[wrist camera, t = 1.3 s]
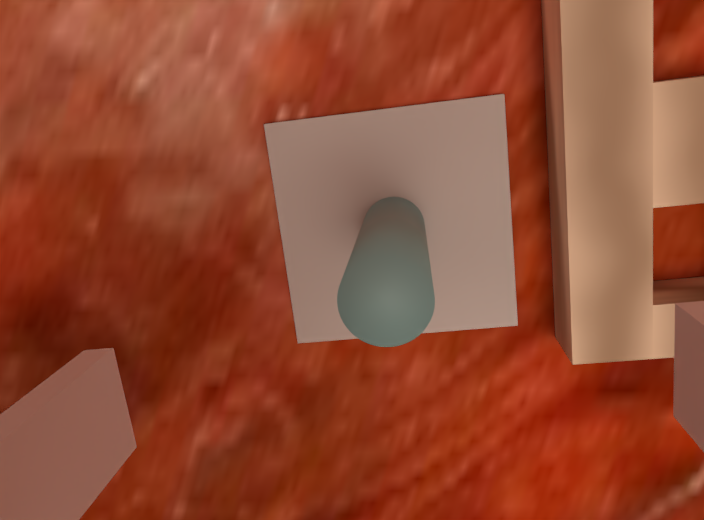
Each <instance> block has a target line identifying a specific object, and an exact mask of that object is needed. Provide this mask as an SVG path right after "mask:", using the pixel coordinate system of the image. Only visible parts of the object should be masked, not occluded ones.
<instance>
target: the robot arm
mask: <svg viewBox="0 0 704 520" xmlns="http://www.w3.org/2000/svg"><path fill="white" fill-rule="evenodd" d="M674 417H675V418H676V419H677V421H678V422H679V423H680V424H681V425H682V427H683V428H684V429H685V430H686V431H687V433H688V434H689V435H690V436H691V437H692V439H693V440H694V441H695V442H696V443H697V445H698V446H699V447H700V448H701V449H702V451H703V452H704V301H696V302H683V303H675V340H674ZM136 447H137V446H136V441H135V437H134V433H133V429H132V424H131V420H130V416H129V412H128V408H127V403H126V399H125V395H124V391H123V386H122V382H121V378H120V374H119V369H118V365H117V361H116V357H115V352H114V348H105V349H93V350H84V351H83V352H81V353H80V354H79V355H77V356H76V357H75V358H74V359H72V360H71V361H70V362H68V363H67V364H66V365H64V366H63V367H62V368H60V369H59V370H58V371H57V372H55V373H54V374H53V375H51V376H50V377H49V378H47V379H46V380H45V381H43V382H42V383H41V384H40V385H38V386H37V387H36V388H34V389H33V390H32V391H30V392H29V393H28V394H26V395H25V396H24V397H22V398H21V399H20V400H19V401H17V402H16V403H15V404H13V405H12V406H11V407H9V408H8V409H7V410H5V411H4V412H3V413H2V414H0V520H79V519H80V518H81V517H82V516H83V514H84V513H85V512H86V510H87V509H88V508H89V507H90V505H91V504H92V503H93V502H94V500H95V499H96V498H97V497H98V495H99V494H100V493H101V492H102V490H103V489H104V488H105V486H106V485H107V484H108V483H109V481H110V480H111V479H112V478H113V476H114V475H115V474H116V473H117V471H118V470H119V469H120V468H121V466H122V465H123V464H124V462H125V461H126V460H127V459H128V457H129V456H130V455H131V454H132V452H133V451H134V450H135V449H136Z"/></svg>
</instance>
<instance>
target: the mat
mask: <svg viewBox="0 0 704 520" xmlns="http://www.w3.org/2000/svg"><path fill="white" fill-rule="evenodd" d="M264 129H265V135H266V142H267V148H268V155H269V161H270V167H271V174H272V180H273V187H274V193H275V200H276V206H277V212H278V219H279V225H280V232H281V238H282V245H283V251H284V257H285V264H286V270H287V277H288V283H289V290H290V296H291V303H292V309H293V315H294V322H295V328H296V335H297V341H298V343H308V342H321V341H333V340H346V339H358V338H357V337H356V336H354V335H353V334H352V333H351V332H350V331H349V330H348V329H347V327H346V326H345V324H344V323H343V321H342V319H341V317H340V314H339V311H338V306H337V293H338V288H339V285H340V283H341V280H342V277H343V275H344V272H345V269H346V266H347V264H348V261H349V258H350V256H351V253H352V250H353V248H354V245H355V242H356V240H357V237H358V234H359V232H360V229H361V226H362V224H363V221H364V218H365V216H366V214H367V212H368V210H369V209H370V208H371V206H372V205H373V204H375V203H376V202H378V201H379V200H381V199H384V198H387V197H401V198H404V199H407V200H409V201H411V202H412V203H413V204H415V205H416V206H417V207H418V209H419V210H420V212H421V213H422V216H423V218H424V223H425V230H426V237H427V244H428V252H429V259H430V266H431V273H432V280H433V288H434V295H435V307H434V312H433V316H432V318H431V321H430V322H429V324H428V326H427V327H426V328H425V330H424V331H423V332H422V333H432V332H444V331H457V330H469V329H481V328H494V327H506V326H518V320H517V303H516V286H515V268H514V251H513V234H512V217H511V200H510V182H509V165H508V148H507V131H506V114H505V96H504V94H498V95H490V96H483V97H475V98H467V99H459V100H451V101H443V102H435V103H427V104H419V105H411V106H403V107H395V108H387V109H379V110H372V111H364V112H356V113H348V114H340V115H332V116H324V117H316V118H308V119H300V120H292V121H284V122H276V123H269V124H264Z"/></svg>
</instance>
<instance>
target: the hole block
mask: <svg viewBox="0 0 704 520" xmlns="http://www.w3.org/2000/svg"><path fill="white" fill-rule="evenodd" d="M541 7H542V31H543V55H544V79H545V103H546V126H547V150H548V174H549V198H550V222H551V246H552V270H553V293H554V317H555V337H556V339H557V341H558V342H559V344H560V345H561V347H562V349H563V350H564V352H565V353H566V355H567V357H568V358H569V360H570V361H571V363H572V364H573V365H574V364H588V363H602V362H616V361H630V360H643V359H657V358H671V357H674V340H675V303H683V302H696V301H704V277H692V278H681V279H669V280H658V281H653V208H658V207H668V206H678V205H688V204H698V203H704V75H701V76H693V77H685V78H677V79H669V80H661V81H653V0H541Z"/></svg>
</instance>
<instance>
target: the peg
mask: <svg viewBox="0 0 704 520" xmlns="http://www.w3.org/2000/svg"><path fill="white" fill-rule="evenodd" d="M337 306H338V311H339V314H340V317H341V319H342V321H343V323H344V324H345V326H346V327H347V329H348V330H349V331H350V332H351V333H352V334H353V335H354V336H356V337H357V338H359V339H360V340H362V341H364V342H366V343H368V344H371V345H375V346H380V347H393V346H399V345H403V344H405V343H408V342H410V341H411V340H413V339H415V338H416V337H417V336H419V335H420V334H421V333H422V332H423V331H424V330H425V328H426V327H427V326H428V324H429V322H430V321H431V318H432V316H433V312H434V307H435V295H434V288H433V280H432V273H431V266H430V259H429V252H428V244H427V237H426V230H425V223H424V218H423V216H422V213H421V212H420V210H419V209H418V207H417V206H416V205H415V204H413V203H412V202H411V201H409V200H407V199H404V198H401V197H387V198H384V199H381V200H379V201H378V202H376V203H375V204H373V205H372V206H371V208H370V209H369V210H368V212H367V214H366V216H365V218H364V221H363V224H362V226H361V229H360V232H359V234H358V237H357V240H356V242H355V245H354V248H353V250H352V253H351V256H350V258H349V261H348V264H347V266H346V269H345V272H344V275H343V277H342V280H341V283H340V285H339V288H338V293H337Z"/></svg>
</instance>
